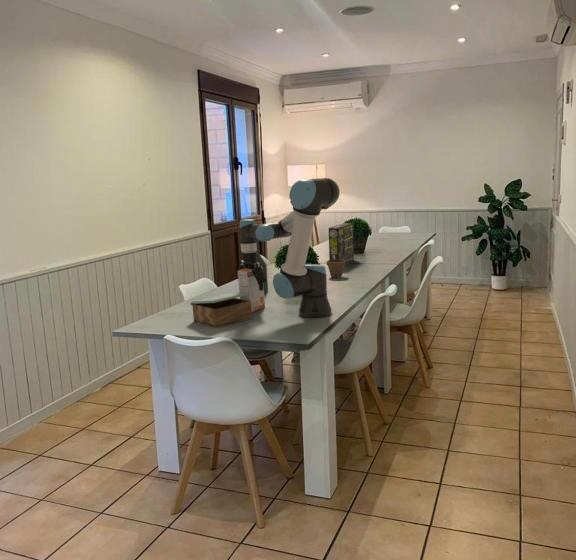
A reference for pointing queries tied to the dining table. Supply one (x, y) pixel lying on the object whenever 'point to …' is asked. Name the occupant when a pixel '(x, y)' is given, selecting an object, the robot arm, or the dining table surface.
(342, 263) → the flower pot
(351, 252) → the box
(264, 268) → the bottle
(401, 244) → the dining table surface
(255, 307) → the cracker box
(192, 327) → the dining table surface
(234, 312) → the walnut chest
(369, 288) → the dining table surface
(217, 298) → the lid
